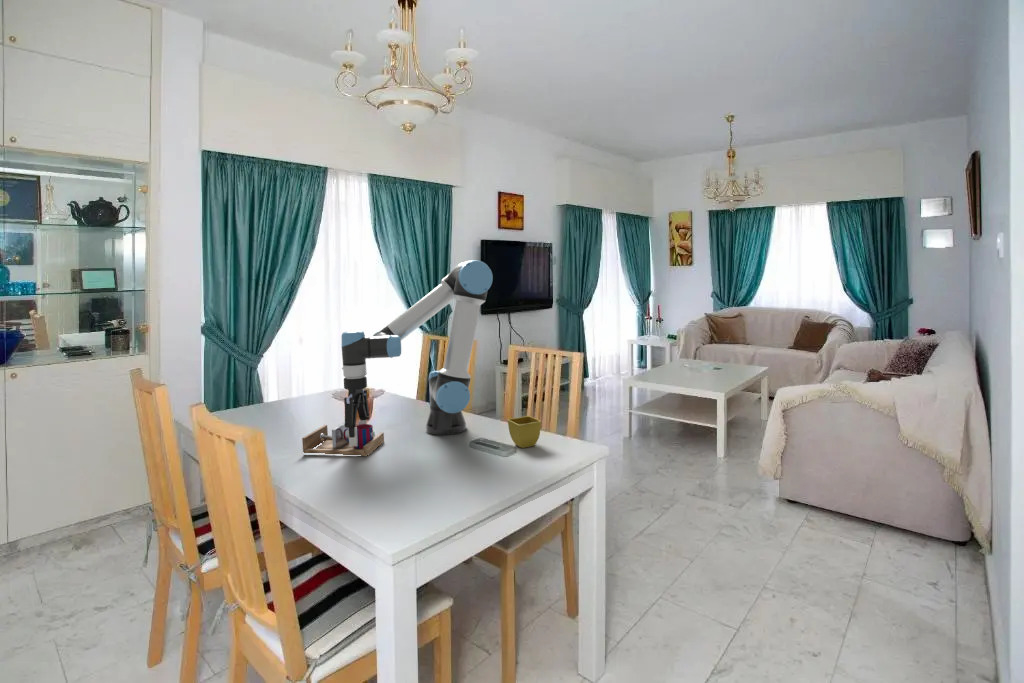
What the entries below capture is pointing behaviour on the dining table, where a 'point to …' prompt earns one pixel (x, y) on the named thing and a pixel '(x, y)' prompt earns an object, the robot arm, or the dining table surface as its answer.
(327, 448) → the wooden tray
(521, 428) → the flower pot
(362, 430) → the mug
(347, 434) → the pusher
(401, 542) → the dining table surface
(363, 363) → the robot arm
